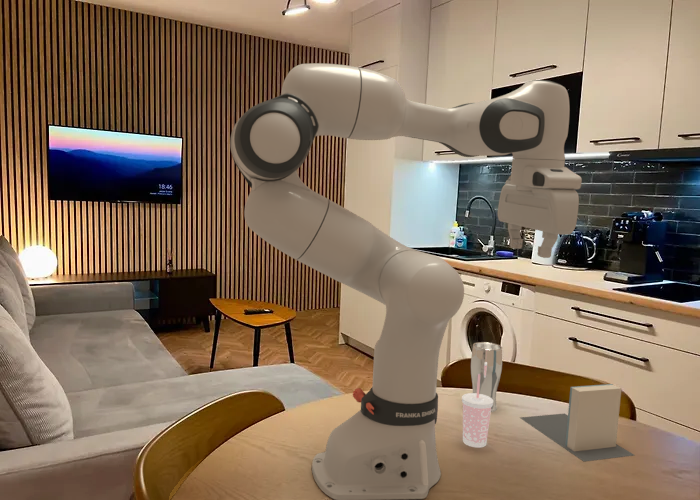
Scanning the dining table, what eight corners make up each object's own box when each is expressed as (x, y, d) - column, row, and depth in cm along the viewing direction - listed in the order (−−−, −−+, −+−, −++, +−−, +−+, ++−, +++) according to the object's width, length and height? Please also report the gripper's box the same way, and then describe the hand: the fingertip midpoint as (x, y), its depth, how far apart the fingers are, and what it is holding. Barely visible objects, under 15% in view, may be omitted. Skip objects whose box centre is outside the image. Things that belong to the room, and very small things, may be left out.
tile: (574, 451, 100) (579, 391, 99) (565, 445, 103) (570, 386, 102) (615, 446, 103) (621, 388, 102) (606, 440, 106) (611, 384, 104)
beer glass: (502, 415, 117) (507, 350, 116) (471, 413, 117) (476, 349, 116) (494, 403, 124) (498, 342, 123) (465, 402, 124) (469, 341, 123)
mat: (583, 463, 96) (583, 461, 96) (519, 419, 116) (519, 417, 115) (634, 457, 100) (635, 455, 100) (564, 415, 119) (564, 413, 119)
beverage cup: (466, 450, 100) (471, 379, 98) (454, 436, 106) (458, 369, 104) (495, 448, 101) (501, 378, 100) (481, 434, 107) (486, 368, 106)
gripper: (492, 173, 102) (487, 243, 104) (554, 177, 82) (545, 263, 84) (521, 175, 103) (515, 243, 105) (589, 179, 83) (579, 263, 86)
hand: (529, 252), depth 95 cm, fingers open, 8 cm apart
